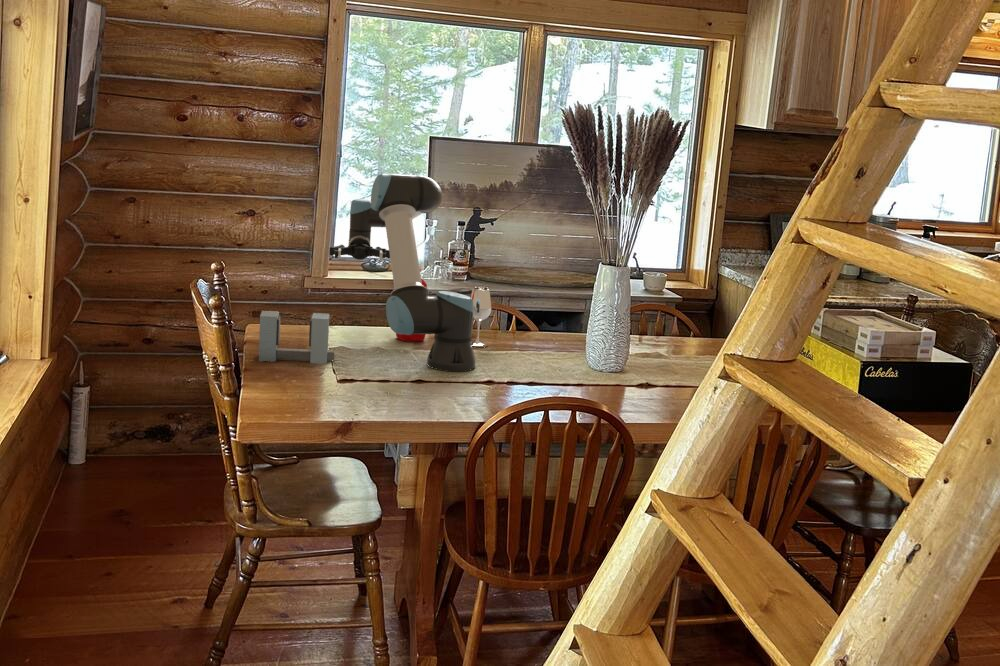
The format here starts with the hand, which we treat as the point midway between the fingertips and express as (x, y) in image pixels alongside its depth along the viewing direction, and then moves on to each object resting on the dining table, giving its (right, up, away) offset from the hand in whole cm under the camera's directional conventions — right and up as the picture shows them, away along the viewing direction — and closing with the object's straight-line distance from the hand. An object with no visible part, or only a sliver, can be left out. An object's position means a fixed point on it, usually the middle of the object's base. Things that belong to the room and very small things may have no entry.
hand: (360, 256), depth 343 cm
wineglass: (+38, -30, +20) cm, 52 cm away
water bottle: (+14, -28, +21) cm, 37 cm away
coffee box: (+31, -26, +38) cm, 55 cm away
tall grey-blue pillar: (-10, -34, -18) cm, 40 cm away
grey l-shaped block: (-17, -33, -19) cm, 42 cm away
